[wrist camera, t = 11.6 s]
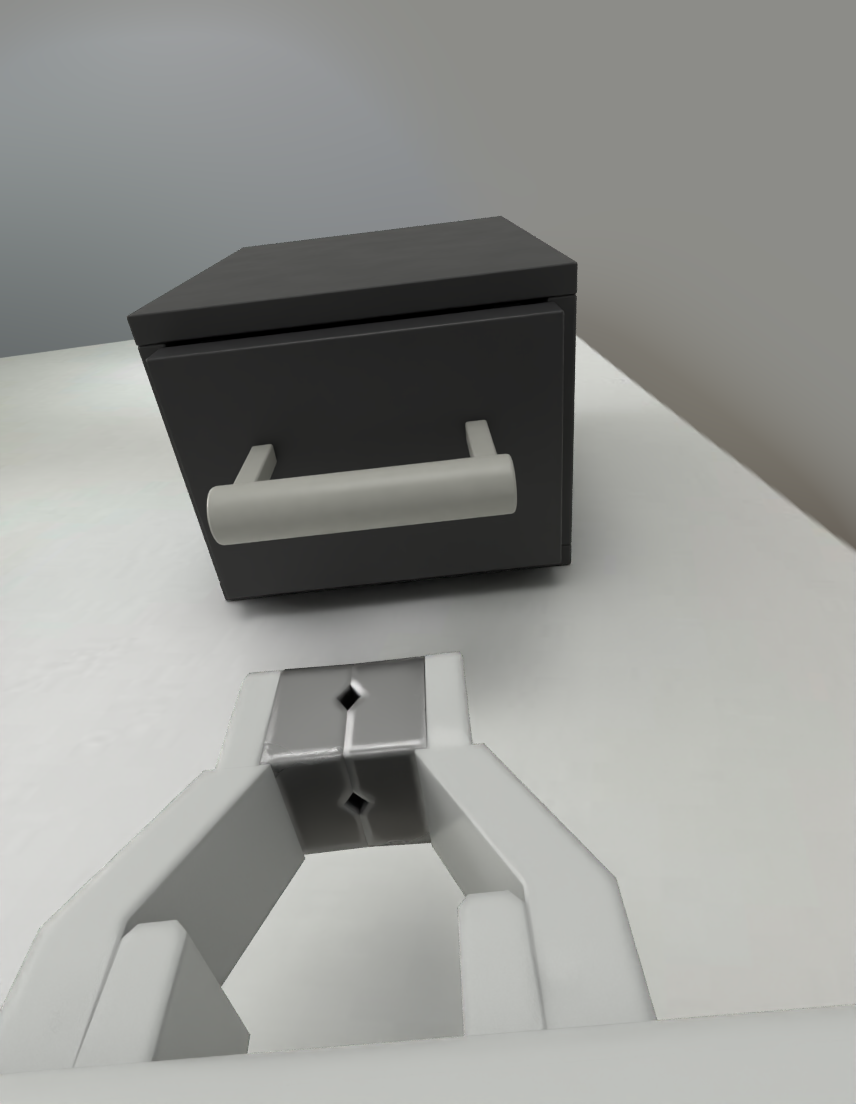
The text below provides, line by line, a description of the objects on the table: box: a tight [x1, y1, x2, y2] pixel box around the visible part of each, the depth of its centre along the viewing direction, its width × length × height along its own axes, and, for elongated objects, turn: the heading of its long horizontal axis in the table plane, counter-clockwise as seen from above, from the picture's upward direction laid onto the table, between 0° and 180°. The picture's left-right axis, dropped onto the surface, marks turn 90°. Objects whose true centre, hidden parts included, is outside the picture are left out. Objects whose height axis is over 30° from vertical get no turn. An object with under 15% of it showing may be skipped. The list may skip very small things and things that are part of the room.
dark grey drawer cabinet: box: [127, 216, 577, 601], centre depth 25 cm, size 15×12×10 cm
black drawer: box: [146, 301, 564, 599], centre depth 22 cm, size 18×11×8 cm, turn 2°
